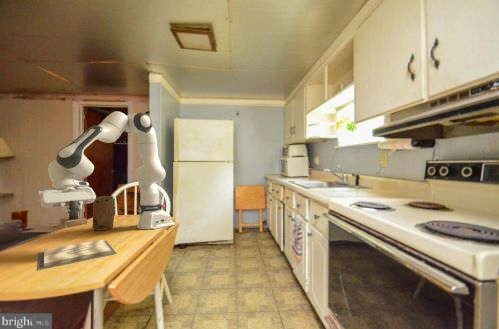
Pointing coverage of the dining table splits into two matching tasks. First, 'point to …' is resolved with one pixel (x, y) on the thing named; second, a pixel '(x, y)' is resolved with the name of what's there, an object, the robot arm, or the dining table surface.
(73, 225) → the sanding block
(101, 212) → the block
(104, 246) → the board
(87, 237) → the dining table surface
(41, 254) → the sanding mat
